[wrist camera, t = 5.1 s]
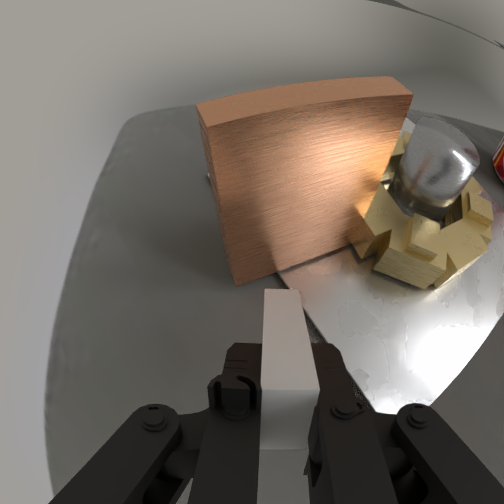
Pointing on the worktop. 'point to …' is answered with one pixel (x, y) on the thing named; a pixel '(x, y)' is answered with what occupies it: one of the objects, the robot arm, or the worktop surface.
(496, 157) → the soda can
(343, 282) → the flange plate
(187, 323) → the worktop surface
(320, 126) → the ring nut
